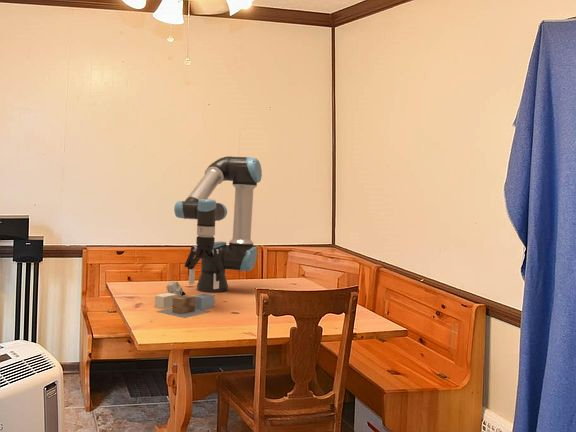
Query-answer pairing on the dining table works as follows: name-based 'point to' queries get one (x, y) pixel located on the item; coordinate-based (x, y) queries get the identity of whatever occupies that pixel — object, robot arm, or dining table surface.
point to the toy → (175, 288)
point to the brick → (164, 300)
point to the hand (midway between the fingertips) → (203, 286)
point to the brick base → (183, 304)
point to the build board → (185, 315)
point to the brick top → (204, 301)
